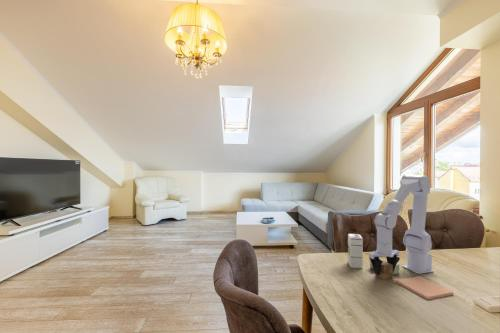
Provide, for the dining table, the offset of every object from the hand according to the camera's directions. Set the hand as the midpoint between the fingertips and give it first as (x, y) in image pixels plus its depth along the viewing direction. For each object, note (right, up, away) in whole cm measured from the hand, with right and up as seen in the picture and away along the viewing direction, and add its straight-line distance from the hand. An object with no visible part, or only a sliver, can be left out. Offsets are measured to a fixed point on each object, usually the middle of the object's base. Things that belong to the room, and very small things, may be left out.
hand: (383, 273), depth 101 cm
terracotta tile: (+10, -2, -9) cm, 14 cm away
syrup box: (-7, -2, +11) cm, 14 cm away
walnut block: (0, -2, 0) cm, 2 cm away
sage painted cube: (+6, -2, +5) cm, 8 cm away
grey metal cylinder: (0, -2, +7) cm, 7 cm away
